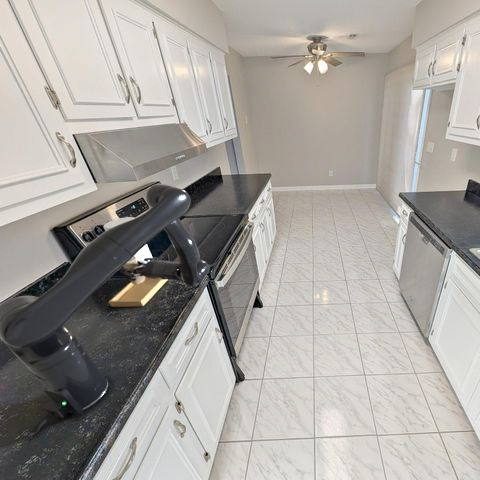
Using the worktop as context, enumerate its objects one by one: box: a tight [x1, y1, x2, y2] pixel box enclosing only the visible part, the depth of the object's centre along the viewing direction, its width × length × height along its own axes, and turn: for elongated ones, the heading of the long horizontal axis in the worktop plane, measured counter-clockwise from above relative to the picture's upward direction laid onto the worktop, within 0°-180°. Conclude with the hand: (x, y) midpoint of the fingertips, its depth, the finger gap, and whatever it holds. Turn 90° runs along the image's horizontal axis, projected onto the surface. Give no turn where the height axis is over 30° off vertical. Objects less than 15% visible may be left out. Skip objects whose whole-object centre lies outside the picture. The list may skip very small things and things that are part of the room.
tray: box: [108, 276, 169, 308], centre depth 110 cm, size 20×14×3 cm
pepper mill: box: [122, 256, 146, 284], centre depth 106 cm, size 5×5×12 cm
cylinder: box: [103, 216, 153, 261], centre depth 122 cm, size 12×12×25 cm
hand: (127, 266), depth 106 cm, fingers closed on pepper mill, 5 cm apart
